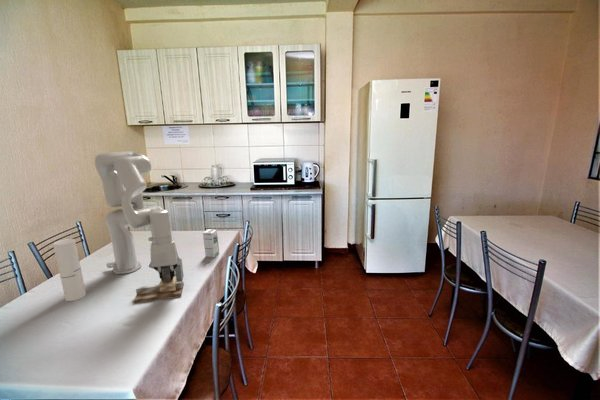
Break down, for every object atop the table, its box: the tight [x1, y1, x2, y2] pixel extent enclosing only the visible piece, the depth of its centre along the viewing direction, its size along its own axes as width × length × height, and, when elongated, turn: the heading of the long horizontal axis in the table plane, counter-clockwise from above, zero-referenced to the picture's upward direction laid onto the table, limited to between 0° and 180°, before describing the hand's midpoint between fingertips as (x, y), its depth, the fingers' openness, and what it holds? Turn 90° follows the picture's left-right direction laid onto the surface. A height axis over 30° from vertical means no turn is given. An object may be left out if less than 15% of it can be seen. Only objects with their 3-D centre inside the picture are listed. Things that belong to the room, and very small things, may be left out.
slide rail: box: [133, 281, 185, 304], centre depth 127 cm, size 18×10×4 cm, turn 105°
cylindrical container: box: [52, 238, 87, 302], centre depth 124 cm, size 7×7×25 cm
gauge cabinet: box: [174, 258, 185, 282], centre depth 138 cm, size 8×6×9 cm
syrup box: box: [202, 228, 220, 258], centre depth 165 cm, size 6×6×14 cm
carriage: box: [159, 266, 177, 293], centre depth 127 cm, size 6×6×10 cm
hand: (167, 278), depth 127 cm, fingers closed on carriage, 3 cm apart
